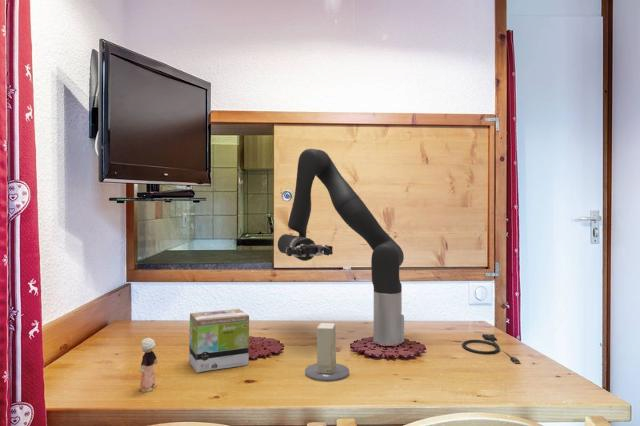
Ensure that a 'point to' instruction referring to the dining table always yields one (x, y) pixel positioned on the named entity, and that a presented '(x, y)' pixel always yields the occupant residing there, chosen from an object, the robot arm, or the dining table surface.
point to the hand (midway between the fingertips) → (314, 252)
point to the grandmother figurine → (148, 366)
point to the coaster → (338, 374)
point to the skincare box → (326, 348)
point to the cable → (490, 338)
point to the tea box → (218, 339)
